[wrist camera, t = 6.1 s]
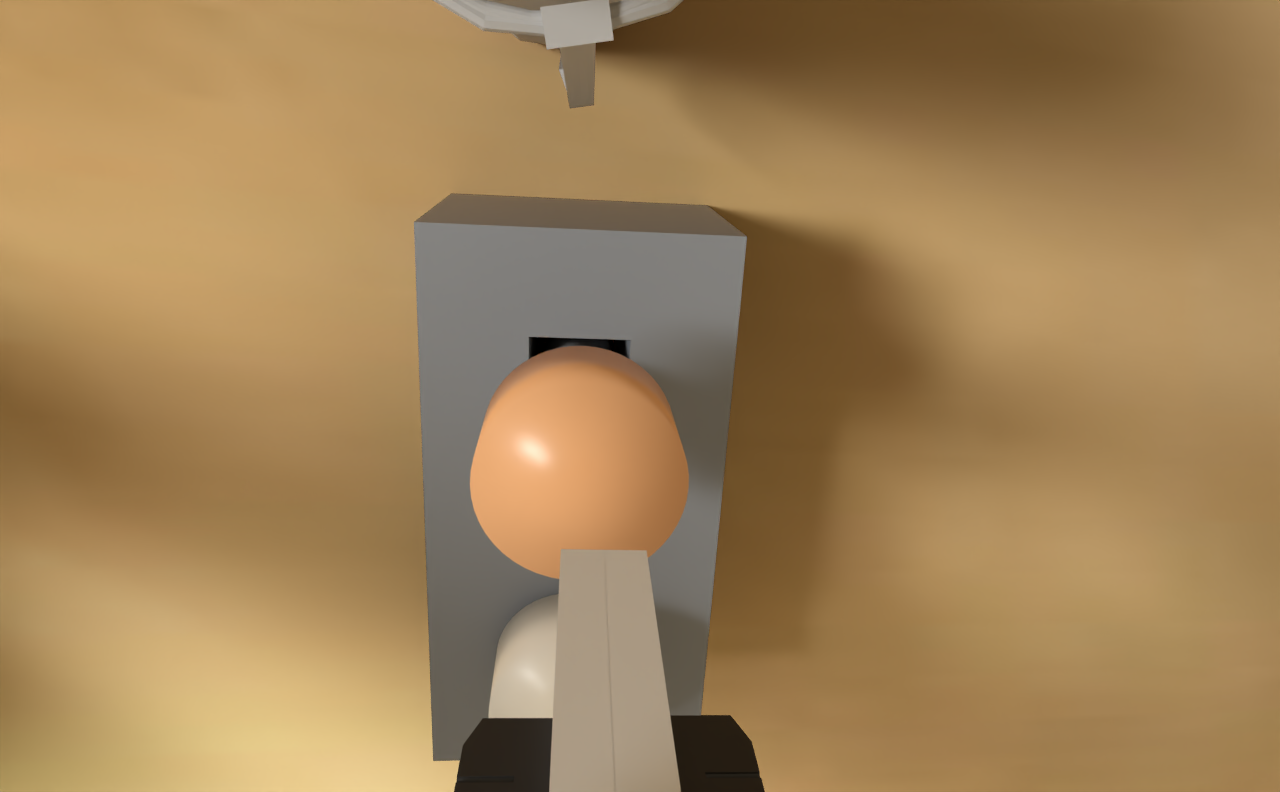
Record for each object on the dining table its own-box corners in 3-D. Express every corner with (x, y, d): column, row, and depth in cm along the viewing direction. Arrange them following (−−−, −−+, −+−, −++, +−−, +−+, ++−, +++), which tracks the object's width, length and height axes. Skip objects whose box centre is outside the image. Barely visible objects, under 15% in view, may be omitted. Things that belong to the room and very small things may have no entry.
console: (460, 632, 39) (433, 760, 31) (451, 193, 32) (413, 221, 24) (677, 632, 40) (701, 757, 32) (712, 205, 33) (753, 236, 25)
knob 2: (505, 418, 31) (471, 579, 20) (505, 279, 29) (467, 379, 19) (645, 421, 31) (680, 580, 21) (653, 285, 29) (696, 385, 19)
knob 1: (511, 593, 38) (488, 779, 27) (512, 489, 36) (487, 646, 26) (626, 593, 38) (645, 777, 28) (631, 491, 36) (654, 646, 26)
